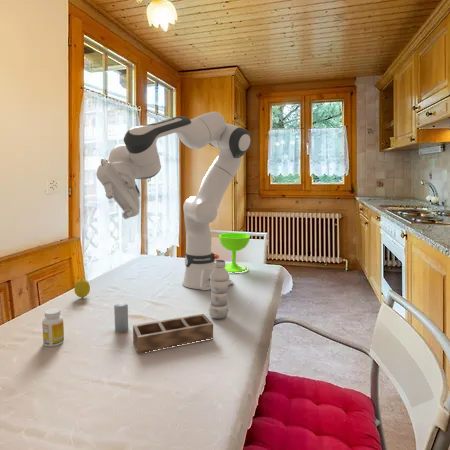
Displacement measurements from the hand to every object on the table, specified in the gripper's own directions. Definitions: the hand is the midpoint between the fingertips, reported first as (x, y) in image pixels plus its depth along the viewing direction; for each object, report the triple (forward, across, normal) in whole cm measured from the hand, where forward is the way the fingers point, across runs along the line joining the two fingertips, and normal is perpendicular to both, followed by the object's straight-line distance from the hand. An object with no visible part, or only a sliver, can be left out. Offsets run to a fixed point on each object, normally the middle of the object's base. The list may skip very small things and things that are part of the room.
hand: (117, 207), depth 104 cm
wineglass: (-22, +81, -18) cm, 86 cm away
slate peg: (+26, +26, +12) cm, 38 cm away
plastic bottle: (+23, +42, -15) cm, 50 cm away
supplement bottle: (+30, +15, +28) cm, 43 cm away
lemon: (+2, +35, +35) cm, 50 cm away
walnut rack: (+34, +27, -4) cm, 43 cm away
